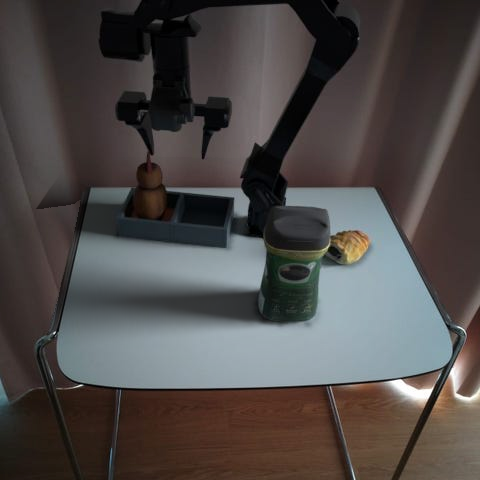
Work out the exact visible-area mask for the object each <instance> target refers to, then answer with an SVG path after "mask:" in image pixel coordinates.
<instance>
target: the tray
mask: <svg viewBox="0 0 480 480" xmlns="http://www.w3.org/2000/svg"><path fill="white" fill-rule="evenodd" d="M135 189H136V187H133V186H132V187H131V188H130V190H129V192H128V194H127V195H126V198H125V200H124V201H123V204H122V206H121V208H120V210H119V212H118V214H117V216H116V218H115V221H116V227H117V231H118V237H121V238H122V237H123V238H131V239H141V240H151V241H159V242H160V241H161V242H170V243H179V244H189V245H198V246H207V247H216V248H217V247H218V248H227V247H228V244H229V239H230V235H231V230H232V225H233V221H234V217H235V197H233V196H225V195H224V196H222V195H212V194H203V193H193V192H183V191H172V190H166V193H167V205H166V210H165V213H164V217H163V219H162V220H161V221H158V220H148V219H139V218H138V217H137V215H136V213H135V210H134V205H133V200H134V192H135Z"/></svg>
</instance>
